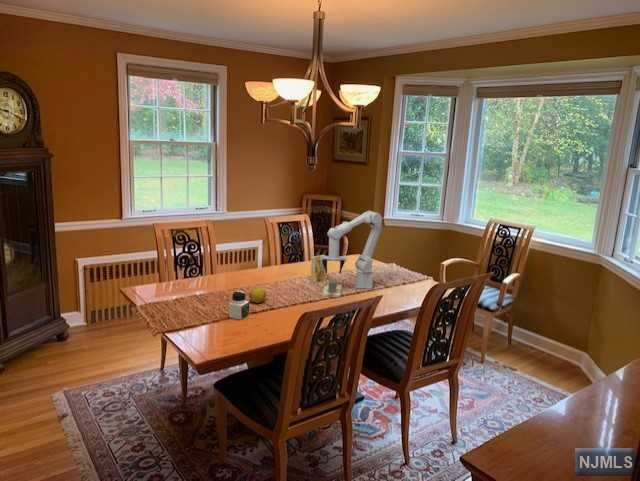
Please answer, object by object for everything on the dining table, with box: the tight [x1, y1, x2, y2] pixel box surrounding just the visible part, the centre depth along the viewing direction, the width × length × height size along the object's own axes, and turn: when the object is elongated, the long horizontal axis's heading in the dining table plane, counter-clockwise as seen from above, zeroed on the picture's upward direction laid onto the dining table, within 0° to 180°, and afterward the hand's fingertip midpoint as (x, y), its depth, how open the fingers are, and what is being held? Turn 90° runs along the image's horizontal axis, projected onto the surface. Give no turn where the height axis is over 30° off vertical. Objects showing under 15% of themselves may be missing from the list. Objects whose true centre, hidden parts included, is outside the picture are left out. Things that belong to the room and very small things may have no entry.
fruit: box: [248, 286, 267, 304], centre depth 251 cm, size 9×8×8 cm
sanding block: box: [328, 278, 338, 294], centre depth 268 cm, size 4×7×6 cm, turn 176°
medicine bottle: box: [228, 290, 250, 321], centre depth 231 cm, size 7×7×12 cm
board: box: [322, 283, 343, 298], centre depth 272 cm, size 10×19×1 cm, turn 176°
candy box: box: [310, 254, 327, 284], centre depth 289 cm, size 9×4×15 cm, turn 129°
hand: (333, 273), depth 272 cm, fingers open, 7 cm apart
